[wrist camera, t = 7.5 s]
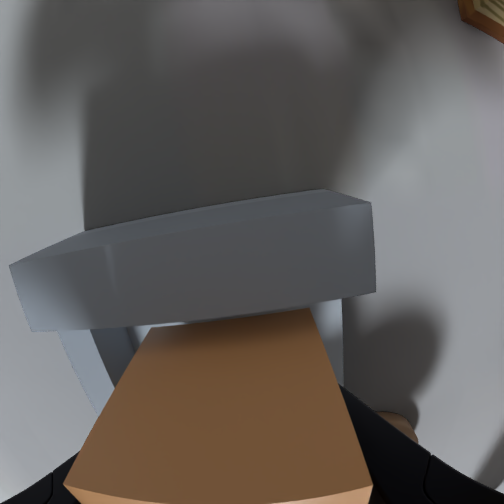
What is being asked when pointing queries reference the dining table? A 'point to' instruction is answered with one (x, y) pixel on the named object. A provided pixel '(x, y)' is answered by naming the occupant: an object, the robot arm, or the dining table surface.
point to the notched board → (198, 276)
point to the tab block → (225, 421)
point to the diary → (484, 16)
